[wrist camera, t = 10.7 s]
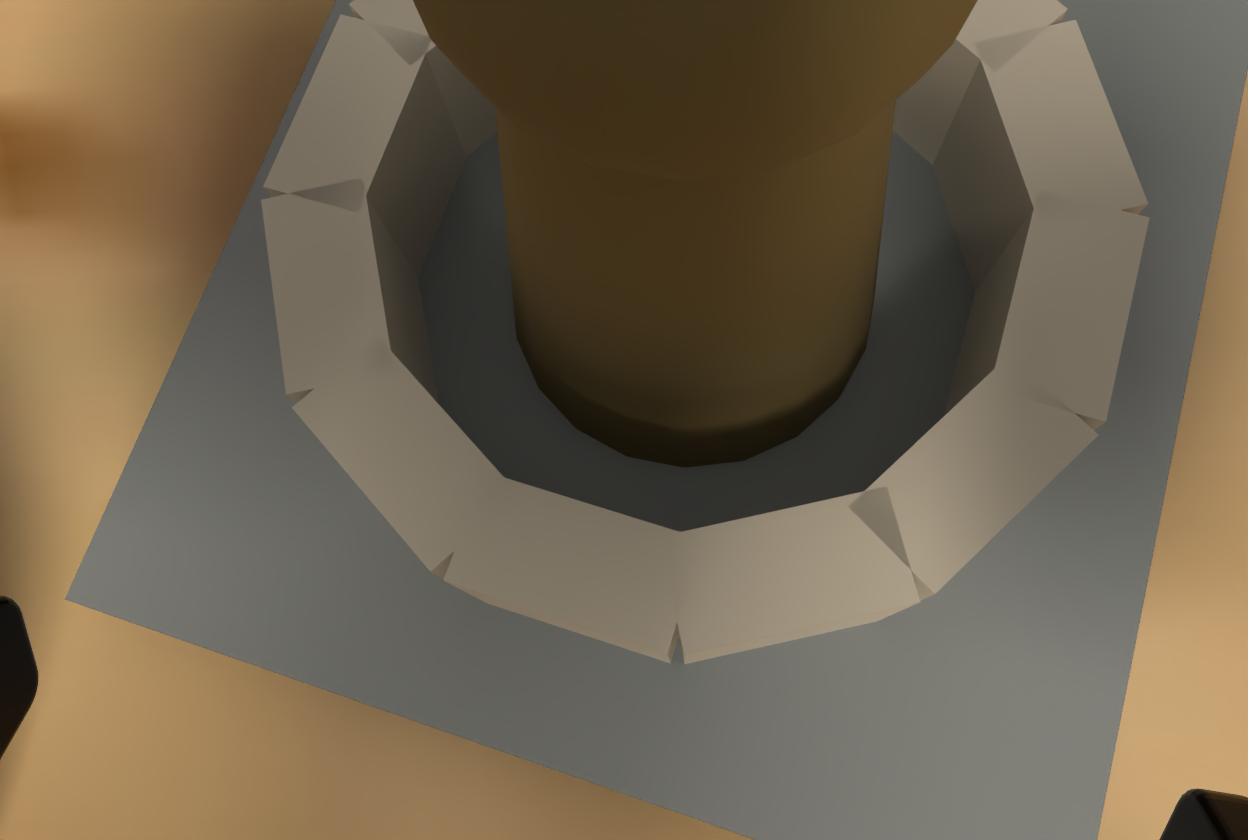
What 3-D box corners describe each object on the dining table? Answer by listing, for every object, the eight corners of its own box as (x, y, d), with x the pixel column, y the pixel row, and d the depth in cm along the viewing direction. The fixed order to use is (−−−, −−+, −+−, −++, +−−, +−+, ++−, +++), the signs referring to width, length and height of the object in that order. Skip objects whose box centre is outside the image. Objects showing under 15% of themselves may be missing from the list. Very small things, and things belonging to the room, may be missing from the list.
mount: (1050, 935, 15) (1172, 1011, 12) (98, 605, 18) (-67, 576, 14) (1231, 35, 19) (1369, -133, 15) (431, -145, 21) (376, -333, 17)
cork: (662, 70, 18) (627, -782, 8) (947, 261, 17) (1362, -450, 7) (438, 321, 17) (54, -270, 7) (723, 544, 16) (790, 240, 6)
